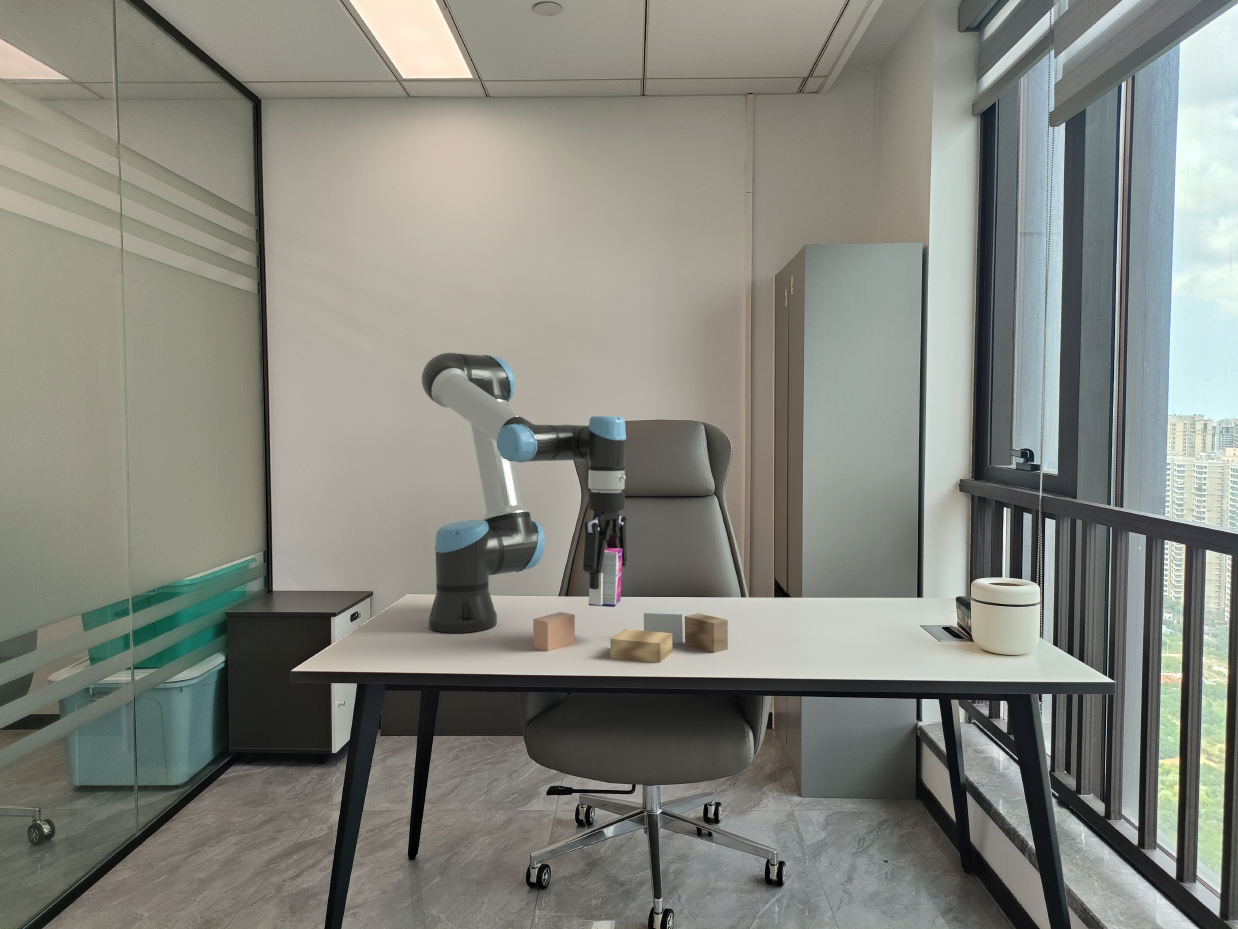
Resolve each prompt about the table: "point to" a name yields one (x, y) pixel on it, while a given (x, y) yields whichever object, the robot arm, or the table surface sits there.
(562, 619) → the terracotta brick
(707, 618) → the walnut brick
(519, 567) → the robot arm
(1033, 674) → the table surface
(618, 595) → the supplement box
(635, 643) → the oak block
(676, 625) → the grey painted brick
